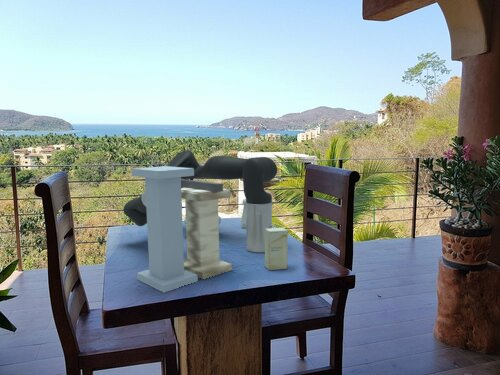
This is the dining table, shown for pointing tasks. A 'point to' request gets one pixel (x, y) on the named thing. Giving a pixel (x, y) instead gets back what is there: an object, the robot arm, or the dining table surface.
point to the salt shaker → (244, 215)
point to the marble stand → (203, 232)
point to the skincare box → (276, 248)
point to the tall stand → (164, 228)
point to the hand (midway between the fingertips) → (177, 173)
